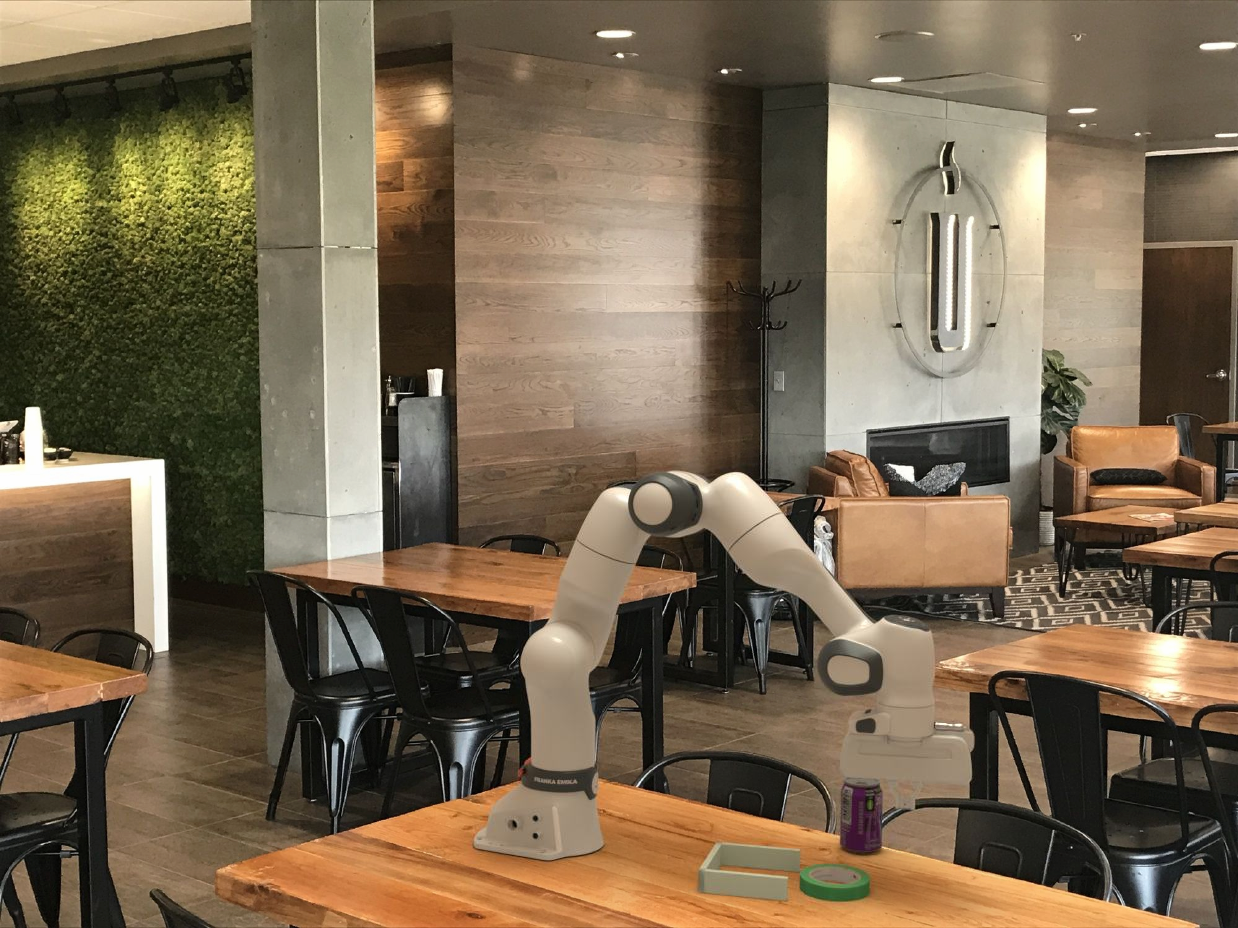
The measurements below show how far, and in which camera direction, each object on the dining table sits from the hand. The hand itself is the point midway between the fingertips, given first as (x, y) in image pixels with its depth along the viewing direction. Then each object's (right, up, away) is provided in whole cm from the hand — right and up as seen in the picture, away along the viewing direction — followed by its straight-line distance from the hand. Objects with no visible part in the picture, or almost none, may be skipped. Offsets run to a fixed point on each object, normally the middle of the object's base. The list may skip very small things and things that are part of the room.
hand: (905, 808), depth 228 cm
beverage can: (-3, -13, +24) cm, 27 cm away
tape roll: (-11, -14, +3) cm, 18 cm away
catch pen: (-23, -13, +7) cm, 27 cm away
